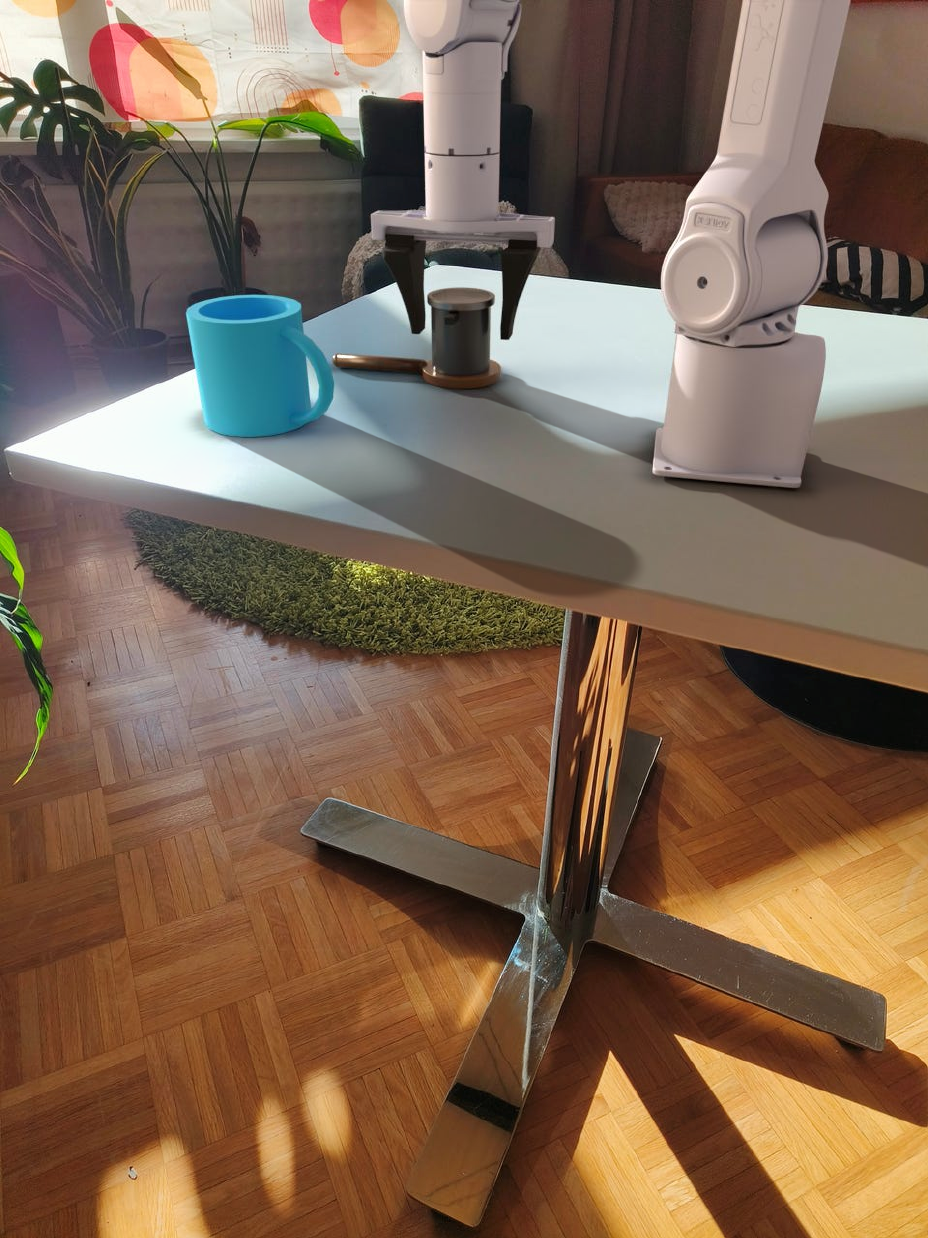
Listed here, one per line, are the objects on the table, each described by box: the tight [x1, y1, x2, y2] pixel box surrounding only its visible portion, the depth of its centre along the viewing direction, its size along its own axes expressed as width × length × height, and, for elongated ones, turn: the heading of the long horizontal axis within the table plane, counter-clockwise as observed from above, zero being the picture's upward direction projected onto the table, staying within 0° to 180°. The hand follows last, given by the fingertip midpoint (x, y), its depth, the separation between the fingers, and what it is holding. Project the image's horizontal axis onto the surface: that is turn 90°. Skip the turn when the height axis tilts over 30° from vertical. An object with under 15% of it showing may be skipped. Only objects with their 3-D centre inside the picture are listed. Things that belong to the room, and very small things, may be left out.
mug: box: [185, 294, 335, 438], centre depth 63 cm, size 12×8×8 cm
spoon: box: [332, 352, 502, 390], centre depth 75 cm, size 15×7×1 cm, turn 78°
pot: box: [426, 286, 496, 376], centre depth 72 cm, size 6×7×6 cm
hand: (462, 333), depth 73 cm, fingers open, 7 cm apart
